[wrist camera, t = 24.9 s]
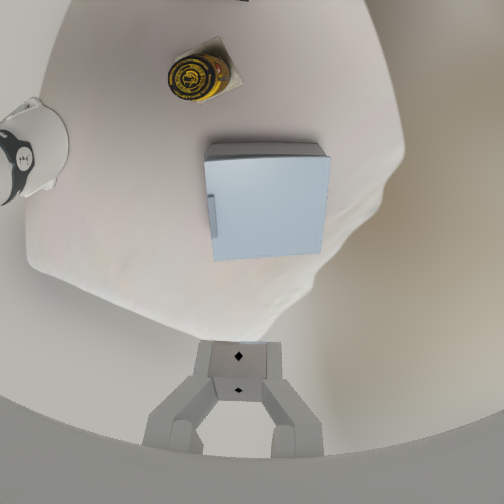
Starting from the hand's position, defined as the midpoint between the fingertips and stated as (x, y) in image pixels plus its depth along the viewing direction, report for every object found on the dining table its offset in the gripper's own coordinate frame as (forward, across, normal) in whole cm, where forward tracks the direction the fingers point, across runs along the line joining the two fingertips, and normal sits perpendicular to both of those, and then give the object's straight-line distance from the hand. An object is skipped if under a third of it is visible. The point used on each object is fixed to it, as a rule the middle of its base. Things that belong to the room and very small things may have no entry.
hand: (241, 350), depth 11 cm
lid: (+29, -1, +9) cm, 31 cm away
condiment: (+37, +7, -10) cm, 39 cm away
